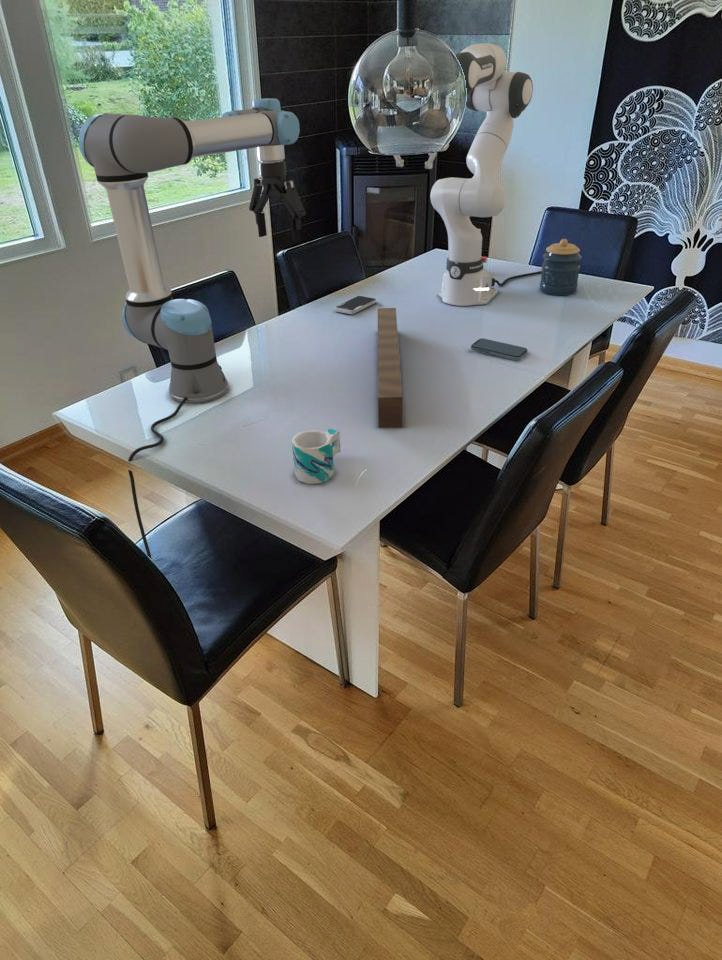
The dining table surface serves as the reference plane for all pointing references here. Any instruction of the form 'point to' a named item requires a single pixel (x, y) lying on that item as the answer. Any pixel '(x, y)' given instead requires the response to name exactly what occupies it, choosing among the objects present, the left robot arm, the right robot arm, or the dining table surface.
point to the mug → (315, 455)
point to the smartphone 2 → (499, 349)
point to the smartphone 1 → (355, 305)
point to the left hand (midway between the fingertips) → (279, 238)
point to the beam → (389, 370)
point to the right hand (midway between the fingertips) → (414, 167)
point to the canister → (560, 269)
